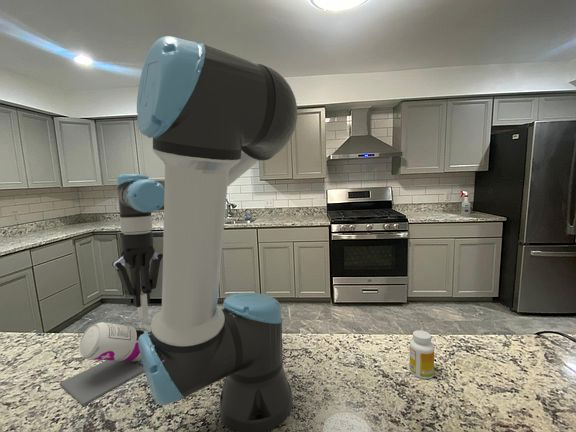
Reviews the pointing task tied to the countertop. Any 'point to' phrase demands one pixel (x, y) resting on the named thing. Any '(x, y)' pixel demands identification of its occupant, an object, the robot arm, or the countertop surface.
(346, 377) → the countertop surface
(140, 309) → the robot arm
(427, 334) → the supplement bottle
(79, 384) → the mat
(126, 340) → the supplement can
